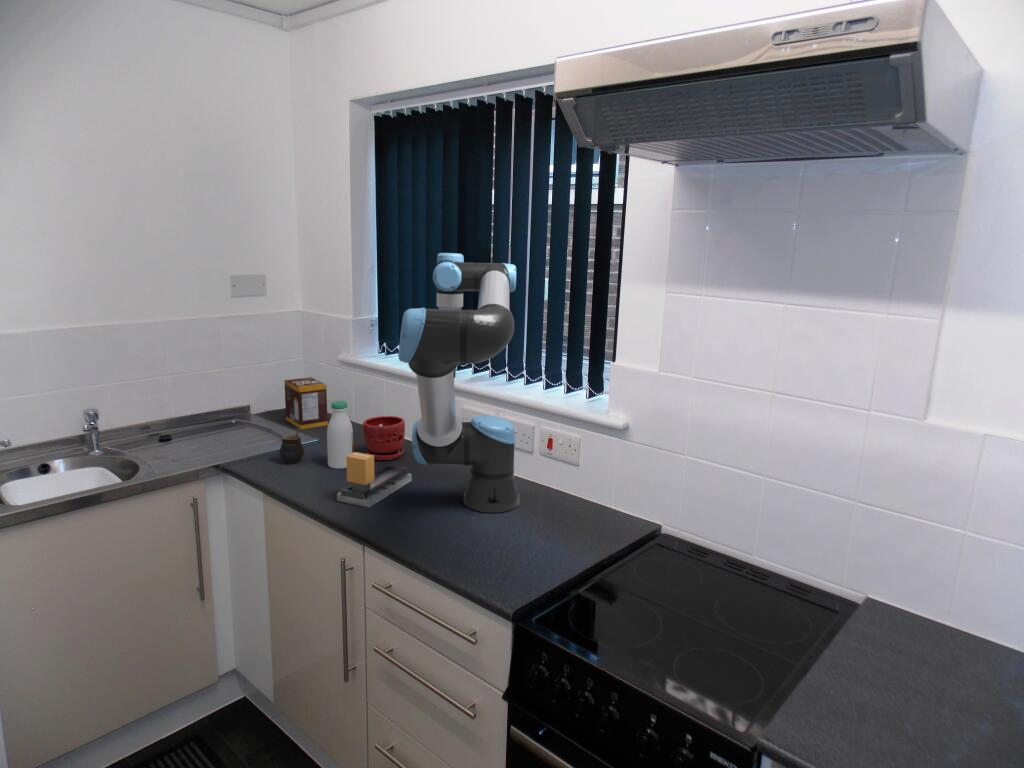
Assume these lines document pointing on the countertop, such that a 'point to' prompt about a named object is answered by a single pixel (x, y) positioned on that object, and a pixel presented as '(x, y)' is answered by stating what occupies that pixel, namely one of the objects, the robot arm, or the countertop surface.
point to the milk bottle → (339, 436)
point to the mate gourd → (291, 449)
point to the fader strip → (377, 486)
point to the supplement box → (306, 402)
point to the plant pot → (384, 436)
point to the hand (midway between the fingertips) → (449, 388)
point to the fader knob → (360, 471)
